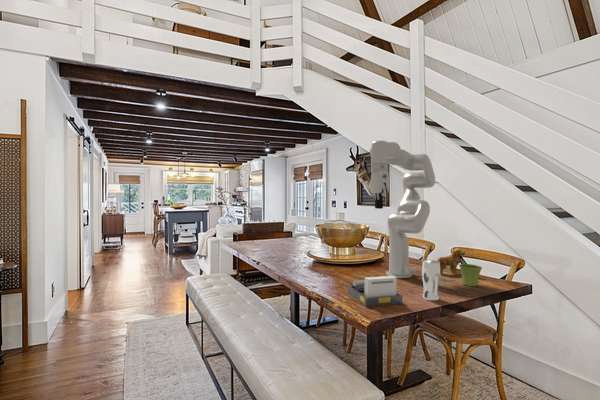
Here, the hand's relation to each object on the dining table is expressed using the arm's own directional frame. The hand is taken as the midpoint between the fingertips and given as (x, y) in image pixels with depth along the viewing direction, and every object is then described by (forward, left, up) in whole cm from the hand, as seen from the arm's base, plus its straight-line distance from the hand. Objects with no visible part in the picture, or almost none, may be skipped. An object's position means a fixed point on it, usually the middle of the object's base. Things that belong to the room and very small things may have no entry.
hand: (378, 208), depth 150 cm
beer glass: (-11, +23, -35) cm, 44 cm away
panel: (+11, +22, -34) cm, 43 cm away
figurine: (-46, -9, -35) cm, 59 cm away
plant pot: (-41, +11, -35) cm, 55 cm away
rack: (+11, +17, -35) cm, 41 cm away
